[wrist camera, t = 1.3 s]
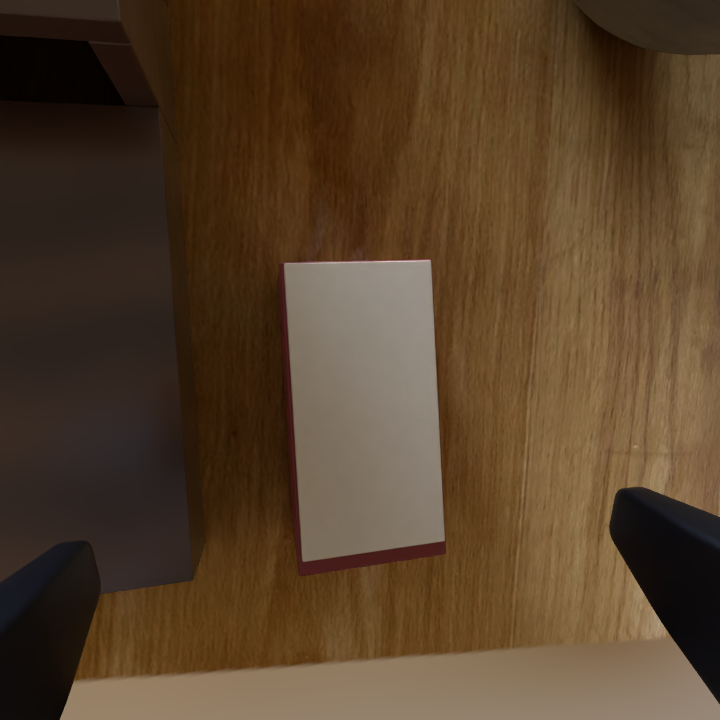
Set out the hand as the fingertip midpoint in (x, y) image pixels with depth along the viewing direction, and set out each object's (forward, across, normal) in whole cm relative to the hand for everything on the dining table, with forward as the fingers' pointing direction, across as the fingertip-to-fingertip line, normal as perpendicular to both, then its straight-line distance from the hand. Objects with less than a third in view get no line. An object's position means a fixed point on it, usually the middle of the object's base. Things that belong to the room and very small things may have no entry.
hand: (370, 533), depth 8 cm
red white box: (+14, -1, +4) cm, 14 cm away
